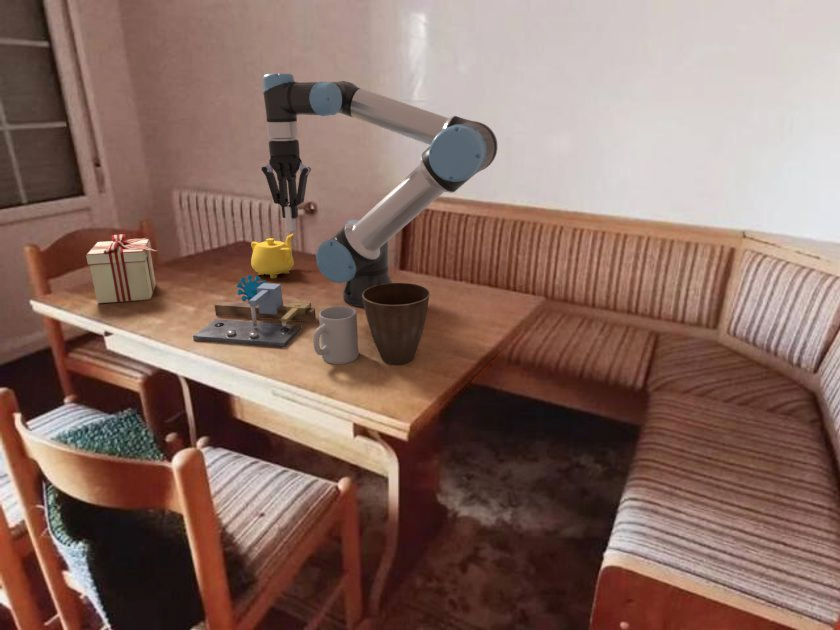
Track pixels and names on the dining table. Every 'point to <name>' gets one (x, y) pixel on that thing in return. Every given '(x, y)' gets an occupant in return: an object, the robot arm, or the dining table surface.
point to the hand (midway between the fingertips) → (291, 230)
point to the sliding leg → (266, 300)
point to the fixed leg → (295, 311)
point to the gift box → (122, 269)
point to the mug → (337, 335)
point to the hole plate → (248, 333)
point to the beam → (245, 311)
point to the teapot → (272, 257)
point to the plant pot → (396, 319)
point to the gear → (249, 287)
